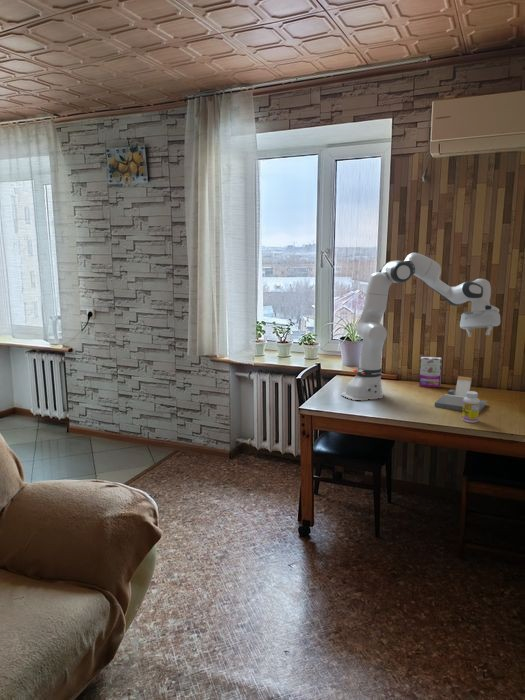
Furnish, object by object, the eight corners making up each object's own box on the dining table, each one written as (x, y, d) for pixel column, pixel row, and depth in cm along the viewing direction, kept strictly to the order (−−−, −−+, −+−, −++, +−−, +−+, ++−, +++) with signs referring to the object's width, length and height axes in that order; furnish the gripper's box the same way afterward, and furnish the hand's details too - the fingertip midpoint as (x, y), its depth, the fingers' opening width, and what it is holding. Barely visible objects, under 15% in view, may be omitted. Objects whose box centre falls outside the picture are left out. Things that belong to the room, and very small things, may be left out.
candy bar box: (440, 386, 278) (442, 357, 275) (440, 388, 274) (441, 359, 271) (419, 384, 283) (421, 356, 280) (418, 386, 278) (420, 357, 275)
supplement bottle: (459, 418, 222) (460, 390, 220) (473, 418, 223) (475, 390, 220) (466, 423, 215) (468, 394, 213) (481, 422, 216) (483, 394, 214)
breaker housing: (478, 413, 229) (479, 398, 228) (434, 406, 240) (435, 392, 239) (486, 405, 242) (487, 391, 240) (443, 398, 253) (444, 385, 252)
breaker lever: (466, 400, 237) (471, 377, 240) (453, 398, 241) (457, 376, 244) (467, 402, 239) (472, 378, 242) (454, 400, 243) (458, 377, 245)
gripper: (458, 310, 264) (456, 335, 261) (496, 305, 248) (494, 332, 245) (464, 314, 268) (463, 338, 265) (502, 309, 252) (501, 335, 249)
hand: (478, 335), depth 255 cm, fingers open, 8 cm apart
